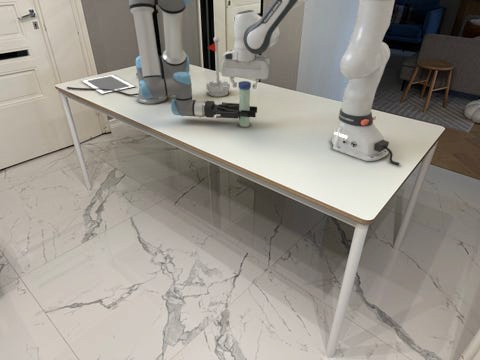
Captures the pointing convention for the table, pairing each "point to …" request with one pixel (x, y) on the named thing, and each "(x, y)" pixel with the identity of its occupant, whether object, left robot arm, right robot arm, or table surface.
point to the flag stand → (217, 76)
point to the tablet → (108, 84)
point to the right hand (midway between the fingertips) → (244, 87)
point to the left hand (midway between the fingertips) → (256, 111)
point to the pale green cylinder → (244, 106)
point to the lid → (244, 85)
